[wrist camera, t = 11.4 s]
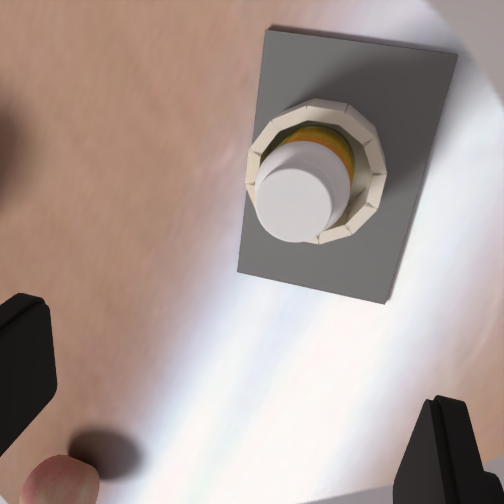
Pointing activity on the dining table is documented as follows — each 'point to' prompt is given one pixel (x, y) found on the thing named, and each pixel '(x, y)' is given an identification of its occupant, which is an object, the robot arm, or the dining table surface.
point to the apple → (61, 482)
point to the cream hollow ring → (364, 148)
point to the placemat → (391, 139)
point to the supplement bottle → (304, 183)
